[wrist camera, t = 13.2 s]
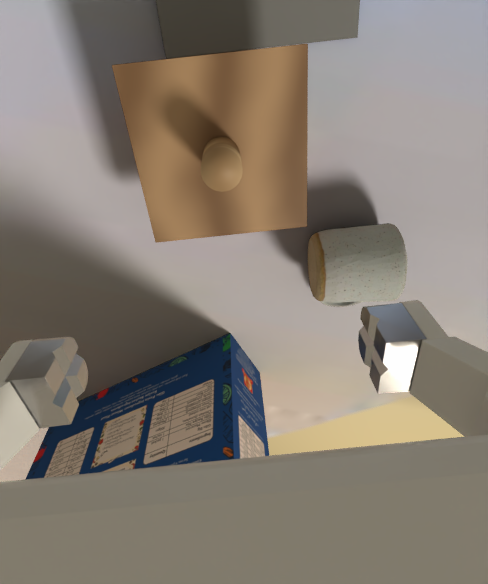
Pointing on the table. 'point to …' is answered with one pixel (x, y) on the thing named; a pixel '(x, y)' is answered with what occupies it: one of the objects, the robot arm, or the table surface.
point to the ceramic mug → (357, 265)
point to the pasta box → (164, 417)
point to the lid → (220, 140)
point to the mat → (252, 24)
